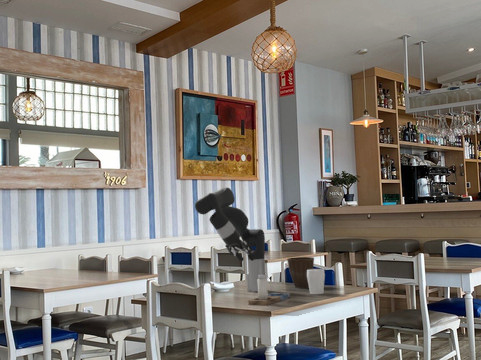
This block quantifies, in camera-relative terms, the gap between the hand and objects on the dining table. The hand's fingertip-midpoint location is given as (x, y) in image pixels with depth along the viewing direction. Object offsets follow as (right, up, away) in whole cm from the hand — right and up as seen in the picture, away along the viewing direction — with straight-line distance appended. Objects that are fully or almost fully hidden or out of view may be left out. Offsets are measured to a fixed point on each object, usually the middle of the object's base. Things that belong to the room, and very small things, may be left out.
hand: (247, 260), depth 269 cm
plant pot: (+31, -23, +60) cm, 71 cm away
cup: (+35, -21, +31) cm, 52 cm away
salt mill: (+7, -20, +4) cm, 22 cm away
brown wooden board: (+11, -21, +10) cm, 25 cm away
